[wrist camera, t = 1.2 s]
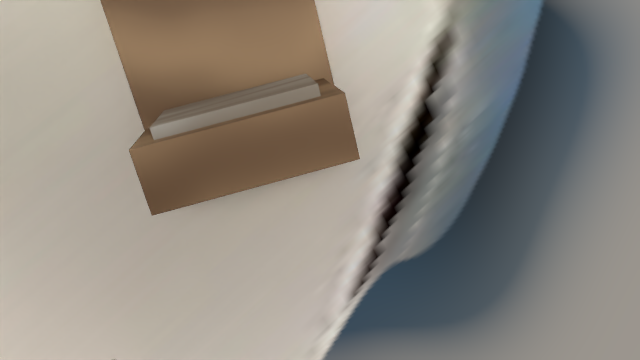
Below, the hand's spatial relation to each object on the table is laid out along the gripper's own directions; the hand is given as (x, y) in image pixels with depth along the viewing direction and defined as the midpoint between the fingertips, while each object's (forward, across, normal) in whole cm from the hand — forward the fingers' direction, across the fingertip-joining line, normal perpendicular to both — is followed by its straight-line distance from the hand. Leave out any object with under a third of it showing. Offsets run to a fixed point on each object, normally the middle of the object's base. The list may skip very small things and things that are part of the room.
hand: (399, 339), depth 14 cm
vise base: (+22, -4, +11) cm, 25 cm away
